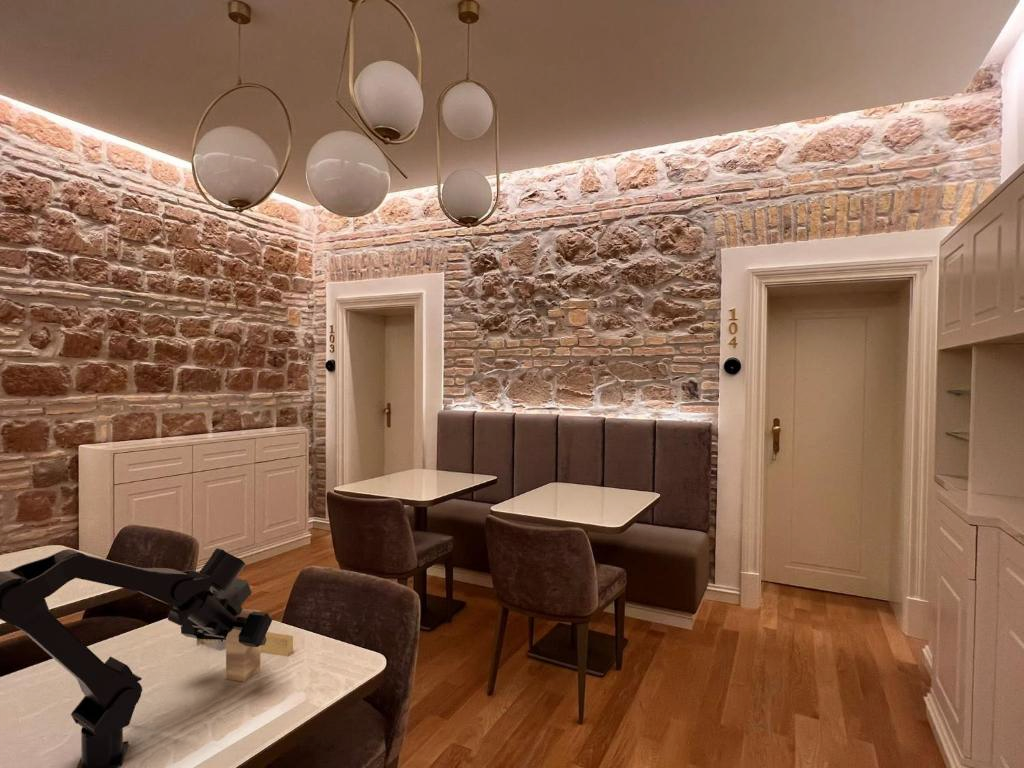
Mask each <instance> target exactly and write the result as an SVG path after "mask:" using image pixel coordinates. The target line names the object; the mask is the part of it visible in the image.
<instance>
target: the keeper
mask: <svg viewBox="0 0 1024 768" xmlns="http://www.w3.org/2000/svg"><path fill="white" fill-rule="evenodd" d="M253 611H256V612H262V610H258V609H251V608H250V609H249V608H242V611H241V613H240V615H237V617H245V618H248V616H249V614H250V613H252V612H253ZM242 623H243V622H242ZM240 632H241V630H237V629H232V631H231V632H229V633H228V635H227V637H226V648H225V669H226V671H225V675H226V678H225V679H227V680H229V681H236V682H246V681H247V680H249V679H251V678H252V677H253V676H255V674H257V673H259V671H261V652H260V646H258V647H250V646H244V644H241V643H240V642H239V634H240Z"/></svg>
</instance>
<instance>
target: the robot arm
mask: <svg viewBox="0 0 1024 768" xmlns="http://www.w3.org/2000/svg"><path fill="white" fill-rule="evenodd" d="M245 566H246V563H245V562H244V560H242V559H241V558H239V557H237V556H234V555H233V554H230V553H229V552H227V551H225V550H224V549H222V548H215V550H214V551H213V552H212V553H211V556H210V557H209V559H208V560H207V561H206V562H205V564H204V565H203V566H202V568H201V569H200V571H197V570H196V571H195V570H193V569H187V570H181V571H180V570H177V569H173V568H167V567H165V568H164V567H137V566H133V565H130V564H127V563H122V562H117V561H113V560H109V559H106V558H101V557H96V556H93V555H89V554H85V553H82V552H79V551H77V550H74V549H71V548H70V549H68V548H67V549H62V550H61V551H60V550H59V551H58V552H56V553H54V554H52V555H49V556H47V557H45V558H44V557H43V558H40V559H37V560H34V561H30V562H28V563H25V564H21V565H18V566H16V567H15V568H12V569H10V570H2V571H0V620H2V621H4V622H5V623H7V624H8V625H11V626H13V627H14V628H17V629H19V630H20V631H22V632H23V633H24V634H25V635H26V636H27V637H29V638H30V640H32V641H33V642H34V643H36V645H37V646H39V647H40V648H41V649H42V650H43V651H44V652H45V653H47V654H48V655H49V656H50V657H51V658H53V659H54V660H55V661H56V662H57V663H58V664H59V665H61V666H62V667H63V668H64V670H66V671H67V672H68V673H69V674H70V675H72V676H73V677H74V678H75V679H76V680H77V682H78V685H79V688H80V690H81V692H82V693H83V695H84V697H83V698H82V699H81V700H80V701H79V703H78V705H76V706H75V708H74V709H73V711H72V712H71V714H70V715H71V717H72V719H73V721H74V723H75V724H77V725H79V726H81V727H82V728H81V729H80V735H81V736H80V741H81V742H80V743H81V746H80V747H81V751H80V752H81V758H80V760H79V762H78V764H77V767H76V768H117V767H121V766H123V765H122V764H123V763H124V760H125V756H126V753H127V750H128V747H129V741H128V740H126V741H124V735H123V733H124V728H126V727H128V726H129V725H130V723H131V721H132V719H133V715H134V712H135V708H136V705H137V704H138V703H139V701H140V699H141V697H142V692H143V686H142V685H141V683H140V681H142V678H143V677H141V676H139V675H137V674H136V673H135V674H134V672H133V671H132V669H131V668H130V667H129V665H128V664H125V663H124V662H122V661H120V660H119V659H116V658H115V657H112V656H109V658H107V660H106V661H105V662H104V661H102V659H100V657H98V656H97V655H96V654H95V653H94V652H93V651H92V650H91V649H90V648H89V647H88V646H86V645H85V643H83V642H82V641H81V640H80V639H79V638H78V637H77V636H76V635H75V634H73V633H72V632H71V630H69V629H68V628H67V627H66V626H65V625H64V624H63V623H62V622H61V621H60V620H58V618H57V617H55V616H54V615H53V614H52V612H51V611H50V608H49V606H48V602H47V601H46V598H48V597H50V596H51V595H53V594H54V593H56V592H57V591H58V590H60V589H61V588H62V587H63V586H64V585H66V584H67V583H69V582H71V581H73V580H75V579H79V580H83V581H87V582H92V583H98V584H103V585H107V586H112V587H116V588H121V589H125V590H131V591H136V592H138V593H141V594H143V595H145V596H148V597H150V598H152V599H154V600H157V601H159V602H162V603H164V604H167V605H170V606H173V607H172V608H170V612H169V614H168V618H167V620H168V621H169V622H171V623H172V624H176V625H177V626H180V634H181V635H183V636H185V637H186V638H192V639H196V640H197V639H211V640H226V637H227V635H228V633H229V632H231V631H232V629H237V630H241V632H240V634H239V642H240V643H241V644H244V646H250V647H258V646H261V645H265V643H266V641H267V639H266V636H265V635H266V633H267V632H268V631H269V629H270V626H271V625H272V623H273V620H274V619H273V616H272V615H271V614H269V613H268V612H262V611H261V612H256V611H253V612H252V613H250V614H249V616H248V618H245V617H237V615H240V613H241V611H242V609H243V608H241V607H240V606H241V605H242V606H243V604H244V602H245V601H246V600H247V599H248V598H249V597H250V596H251V595H252V593H253V591H252V589H251V587H250V585H249V582H248V580H246V579H242V578H241V579H235V578H236V577H237V578H238V575H240V573H241V572H242V570H243V569H244V567H245ZM209 588H210V589H212V593H211V592H210V591H209V590H208V589H209ZM242 622H243V623H242Z"/></svg>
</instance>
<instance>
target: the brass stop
mask: <svg viewBox="0 0 1024 768" xmlns="http://www.w3.org/2000/svg"><path fill="white" fill-rule="evenodd" d="M265 636H266V639H267V641H266V643H265V645H261V646H260V653H263V654H264V653H265V654H271V655H277V656H283V657H289V656H290V655H291V654H292V653H294V636H293V635H292V634H291V635H290V634H289V635H288V634H284V633H276V632H268V631H267V633H266V635H265Z"/></svg>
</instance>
